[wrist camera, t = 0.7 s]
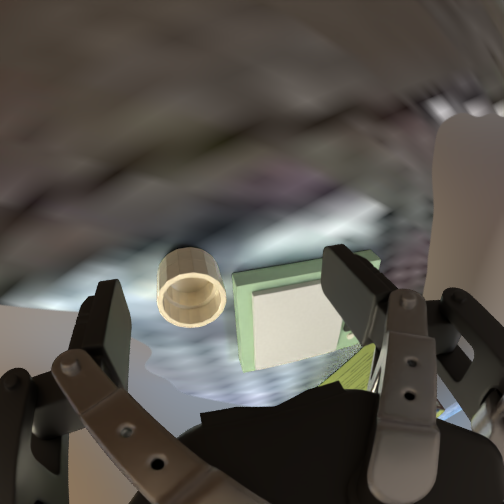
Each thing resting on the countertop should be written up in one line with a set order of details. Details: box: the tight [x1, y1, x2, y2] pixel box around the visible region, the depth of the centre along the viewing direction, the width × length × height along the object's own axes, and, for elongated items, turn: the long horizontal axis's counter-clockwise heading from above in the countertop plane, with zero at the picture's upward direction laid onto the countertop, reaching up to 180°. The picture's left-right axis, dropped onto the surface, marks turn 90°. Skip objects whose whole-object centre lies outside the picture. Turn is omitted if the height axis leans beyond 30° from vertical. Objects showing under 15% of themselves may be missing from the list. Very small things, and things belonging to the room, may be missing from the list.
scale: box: [232, 250, 381, 373], centre depth 37 cm, size 14×17×3 cm
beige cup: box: [157, 247, 227, 328], centre depth 29 cm, size 6×6×5 cm
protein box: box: [318, 343, 445, 418], centre depth 43 cm, size 10×15×16 cm
